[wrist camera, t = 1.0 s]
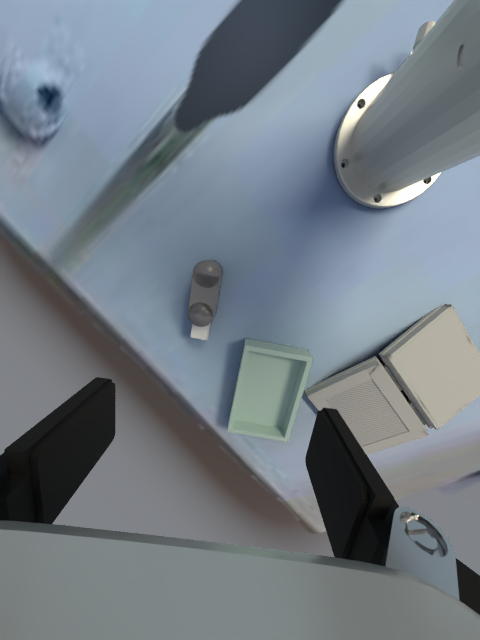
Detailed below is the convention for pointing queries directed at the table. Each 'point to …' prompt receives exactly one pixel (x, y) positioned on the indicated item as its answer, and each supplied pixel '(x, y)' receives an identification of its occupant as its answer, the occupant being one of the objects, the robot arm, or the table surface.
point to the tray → (268, 389)
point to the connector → (204, 297)
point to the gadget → (406, 383)
